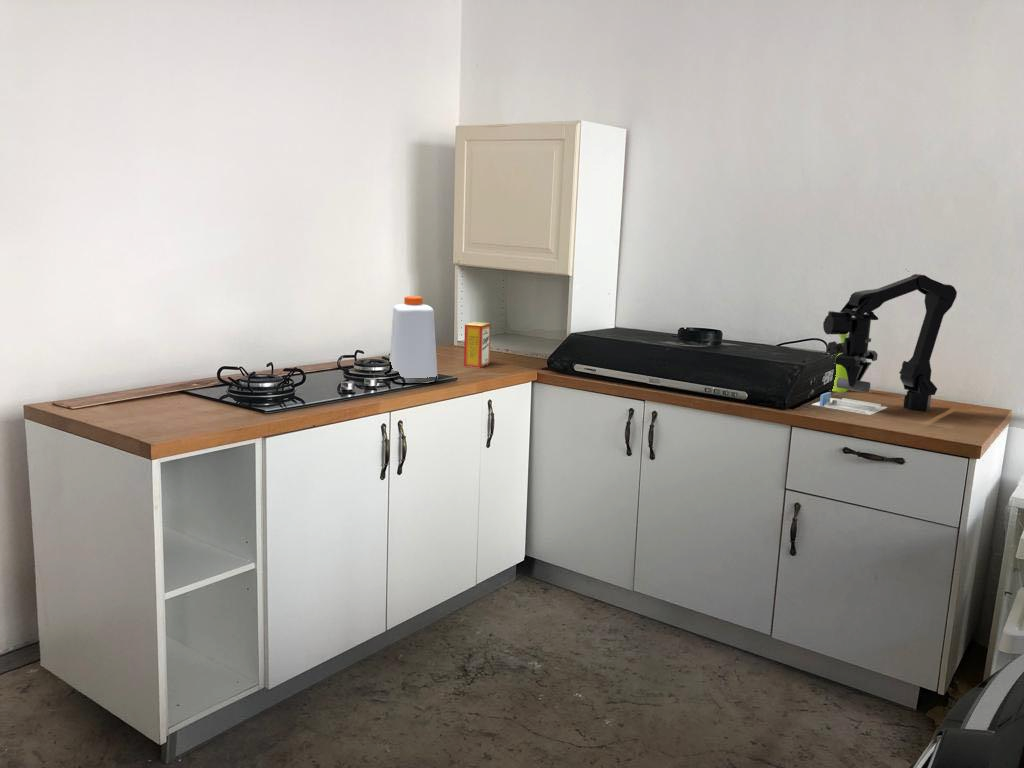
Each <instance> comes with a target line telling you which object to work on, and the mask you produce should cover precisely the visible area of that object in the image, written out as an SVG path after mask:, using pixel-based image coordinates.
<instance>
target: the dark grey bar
mask: <svg viewBox="0 0 1024 768" xmlns="http://www.w3.org/2000/svg"><path fill="white" fill-rule="evenodd" d="M837 387H838V388H844V389H847V390H850V391H858V392H865V393H868V392H869V391H870V389H871V381H864V380H860V381H858V380H856V382H855V384H854V386H853V387H850V386H849V382H848V379H844V378H838V380H837Z"/></svg>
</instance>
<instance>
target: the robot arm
mask: <svg viewBox="0 0 1024 768" xmlns="http://www.w3.org/2000/svg"><path fill="white" fill-rule="evenodd" d="M915 291H918V292H919V293H921V294H923V295H925V296H924V306H925V311H926V312H925V315H924V319H923V321H922V324H921V328H920V330H919V331H920V332H919V333H918V334H919V335H918V337H917V342H916V344H915V348H914V350H913V354H912V357H911V358H910V359H908V361H906V360H903V361H902V364H901V368H900V371H899V374H900V375H899V376H900V377H899V379H900V380H901V383H902V384H903V389H904V390H905V391H906V395H904V399H903V409H908V410H911V411H916V412H928V411H930V409H931V400H932V396H935V395H936V393H937V391H938V387H937V386H936V385H935V384H934V382H933V381H932V380H931V378H932V377H931V376H932V367H931V358H932V354H933V352H934V348H935V345H936V341H937V338H938V334H939V331H940V328H941V326H942V323H943V318H944V316H945V315H946V313H947V312H948V311H949V310H950V309H951V308H952V307H953V305H954V302H955V301H956V298H957V296H958V294H957V293H958V291H957V289H956V288H955V287H954V286H953V285H951V284H945V283H942V282H940V281H937V280H934V279H932V278H930V277H929V276H927V275H925V274H918V273H914V274H912V275H910V276H908V277H906V278H903V279H901V280H897V281H895V282H892V283H890V284H887V285H884V286H881V287H879V288H873V289H865V290H859V291H855V292H853V293H852V294H851V295H850V297H849V300H847V302H846V304H845V305H844V306H843V307H842V308H841V310H840V311H834V310H832V311H831V310H830V311H828V312H827V315H826V316H825V319H824V321H823V323H822V324H823V325H822V326H823V327H822V328H823V332H824V333H825V334H826V335H839V334H849V336H848V337H846V338H845V342H843V343H840V342H838V343H837V342H836V341H830V342H828V343H827V346H826V349H825V351H826V352H827V353H828V355H829V357H832V356H833V355H836V354H839V353H843V354H840V355H838V356H836V357H835V363H834V364H838V365H841V366H843V367H844V368H845V369H846V372H847V377H848V382H849V386H850V387H853V386H854V384H855V382H856V380H858V381H862V378H863V377H864V376H865V373H866V372H867V371H868V369H869V368H870V366H871V365H872V362H875V361H878V353H877V352H876V351H875V350H871V349H869V343H871V342H872V338H871V337H870V331H871V324H872V323H871V322H872V321H878V320H879V317H878V316H877V315H876V314H875V313H874V311H876V310H877V309H878V308H880V307H881V306H882V305H883V304H885V303H886V302H888V301H890V300H893V299H896V298H899V297H901V296H904V295H907V294H909V293H912V292H915ZM868 360H871V361H872V362H869V361H868Z"/></svg>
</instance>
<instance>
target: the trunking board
mask: <svg viewBox="0 0 1024 768" xmlns="http://www.w3.org/2000/svg"><path fill="white" fill-rule="evenodd" d="M831 395H832V391H827V392H825V393H822V394H820V397H819V399H820V400H819V401H818V402H815V403H814V402H813V403H812V404H811V406H817V407H823V408H827V409H835V410H840V411H845V412H852V413H858V414H863V415H869V416H871V415H874V414H876V413H878V412H881V411H883V410H885V409H888V407H887V406H883V405H882V404H881V403H875V402H870V401H863V400H858V399H857V400H855V399H851V398H846V397H843V398H836V397H835V398H834V397H832V396H831Z"/></svg>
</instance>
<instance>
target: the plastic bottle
mask: <svg viewBox="0 0 1024 768" xmlns="http://www.w3.org/2000/svg"><path fill="white" fill-rule="evenodd" d="M391 323H392V324H391V336H390V348H389V349H390V350H389V362H391V365H392V368H393V370H394V371H398V372H399V374H400V376H401V377H404V378H427V377H428V378H429V377H436V376H437V377H438V366H437V365H438V362H437V347H436V344H437V343H436V329H435V328H436V327H435V326H436V325H435V310H434V309H433V308H432V306H430V305H429V304H424V301H423V297H422V296H417V295H415V296H414V295H412V296H411V295H409V296H407V295H406V296H405V297H404V302H403V303H402V304H401V303H400V304H399V303H398V304H395V305H394V306H393V309H392V321H391Z"/></svg>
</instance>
